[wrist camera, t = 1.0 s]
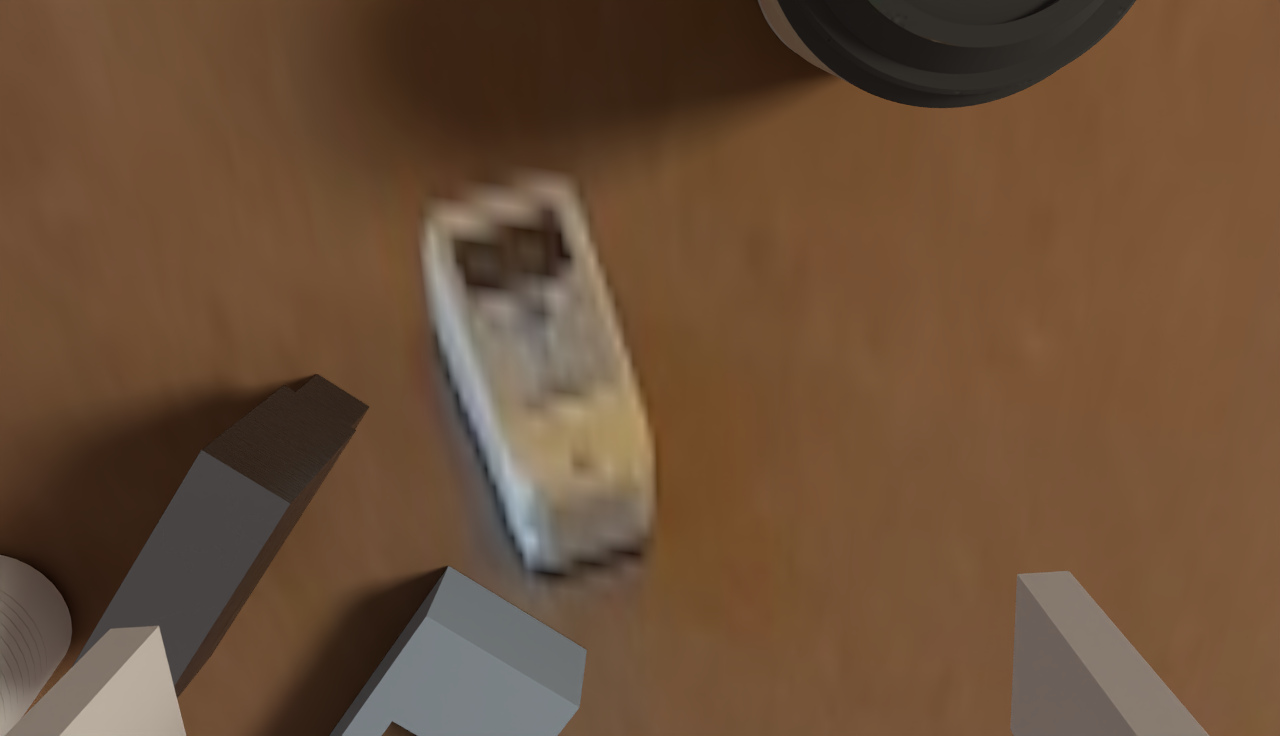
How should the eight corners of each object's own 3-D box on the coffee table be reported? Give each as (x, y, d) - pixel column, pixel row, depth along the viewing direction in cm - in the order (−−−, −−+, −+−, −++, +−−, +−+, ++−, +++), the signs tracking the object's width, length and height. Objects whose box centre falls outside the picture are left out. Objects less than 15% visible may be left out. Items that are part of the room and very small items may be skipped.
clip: (185, 572, 41) (39, 722, 31) (317, 358, 38) (201, 449, 28) (247, 609, 41) (122, 767, 31) (382, 400, 38) (290, 503, 29)
